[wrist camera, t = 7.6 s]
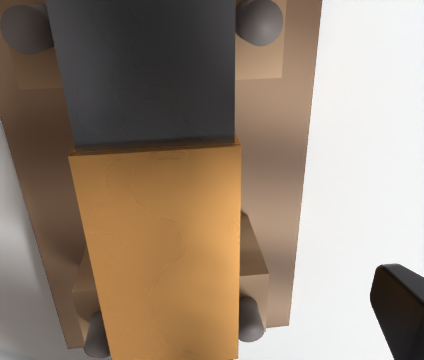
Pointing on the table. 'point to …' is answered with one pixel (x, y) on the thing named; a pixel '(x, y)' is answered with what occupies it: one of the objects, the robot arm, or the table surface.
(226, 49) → the spanner bar
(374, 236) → the table surface
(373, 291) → the robot arm
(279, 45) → the tool rack
